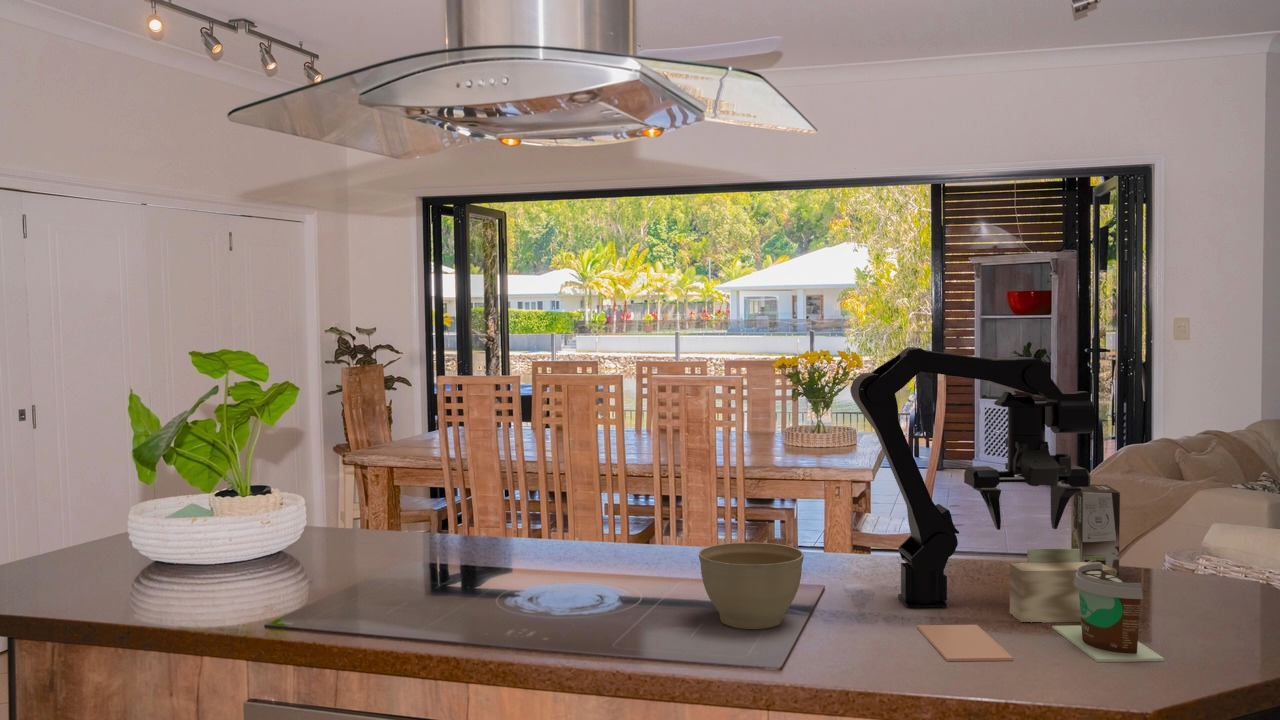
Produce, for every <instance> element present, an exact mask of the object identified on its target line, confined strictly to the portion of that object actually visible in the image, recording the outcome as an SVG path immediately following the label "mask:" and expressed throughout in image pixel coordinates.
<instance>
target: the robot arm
mask: <svg viewBox="0 0 1280 720" xmlns="http://www.w3.org/2000/svg"><path fill="white" fill-rule="evenodd" d="M920 373H931V374H937V375H943V376H944V375H945V376H952V377H958V378H959V377H960V378H966V379H973V380H980V381H985V382H989V383H992V384H994V385H996V386H1000V387H1004V388H1007V389H1009V390H1011V391H1012V390H1013V391H1016V392H1021V393H1027V394H1029V395H1017V396H1016V395H1013V393H1011V391H1004V392H1003V393H1002V395H1001V396H1000V397H999V398H997V399H996V400H995V401H994V405H995V406H998V407H1001V408H1007V437H1005V444H1004V445H1006V446H1007V462H1005V463H1004V464H1005V465H1004V466H1005V470H998V469H996V468H993V467H991V466H988V465H987V466H986V465H983V466H982V465H981V466H979V465H978V466H971V465H970V466H967V467H966V469H965V470H964V473H963V480H964V481H963V483H964V484H967V485H968V486H969V487H972V489H973V490H976V491H978V492H979V493H980V495H981V498H982V499H983V501H984V503H985V505H986V507H987V511H988V512H989V515H990V518H991V520H992V523H993V525H994V527H995V529H996V530H998V531H1000V530H1001V524H1002V519H1001V503H1000V496H1001V493H1002V490H1001V489H999V488H998V485H999V484H1000V483H1026V484H1027V485H1029V486H1030V487H1039V486H1050V523H1051V524H1050V525H1051V528H1052V529H1053V530H1057V529H1058V526H1059V524H1060V521H1061V520H1062V516H1063V514H1064V511H1065V509H1066V507H1067V504H1068V503H1069V502H1070V500H1071V497H1072V496H1073V495H1074V494H1075V493H1076V492H1081V491H1082V488H1079V487H1089V486H1090V485H1091V475H1090V472H1089V471H1088V469H1087V468H1085V467H1081V466H1079V465H1076V464H1072V457H1071V456H1070V455H1069V454H1068V453H1056V454H1054V455H1052V454H1051V453H1050V447H1049V441H1046V427H1047V428H1049V429H1050V430H1051V431H1052V433H1053V434H1090V433H1093V432H1094V430H1095V429H1096V426H1097V425H1096V424H1097V420H1098V419H1097V415H1098V414H1097V412H1096V411H1095V406H1094V403H1093V401H1092V400H1091V392H1090V391H1084V390H1083V391H1080V390H1079V391H1073V392H1062V391H1061V390H1060V388H1059V387H1058V386H1057V384H1056V383H1055V381H1054V380H1053V379H1052V378H1051V371H1050V369H1049V366H1048V365H1047V364H1046V362H1045V361H1044V360H1042V359H1040V358H1037V357H1027V356H1002V357H990V358H989V357H988V358H987V357H985V358H984V357H978V356H970V355H964V354H956V353H949V352H942V351H933V350H926V349H923V348H921V347H916V346H915V347H914V346H908V347H905V348H904V349H902V350H901V352H899V353H898V354H897V355H896V356H894V357H892V358H890V360H888V361H886V362H884V363H883V364H882V365H879V366H878V367H877V368H875V369H874V370H873V371H872V372H864V373H861V374H859V375H857V376H856V377H855V378H854V379H853V381H852V383H851V385H850V391H849V392H850V395H851V398H852V400H853V401H854V403H855V405H856V406H857V408H858V409H859V410H860V412H861V414H863V415H862V416H864V417H865V420H867V422H868V423H869V424H870V426H871V427H872V428H873V430H874V431H875V434H876V436H877V439H878V441H879V443H880V446H881V448H882V451H883V453H884V456H885V458H886V461H887V463H888V464H889V467H890V470H891V471H892V474H893V476H894V478H895V481H896V485H897V486H898V488H899V490H900V493H901V497H902V498H903V500H904V502H905V506H906V509H907V511H906V512H907V522H908V526H909V531H910V535H909V536H908V537H907V538H906V540H904V542H903V543H901V544H900V545H899V546H898V548H897V550H898V552H899V555H900V558H901V560H902V561H904V562H901V563H900V593H898V594H897V598H898V599H899V600H900V601H901V602H902V603H903V604H904V605H905V606H906V608H947V607H948V603H947V602H946V601H947V600H948V575H946V574H945V571H944V570H945V568H946V565H947V564H948V560H949V558H950V557H952V556H953V554H954V553H955V551H956V550H957V547H958V545H959V544H958V543H959V542H958V536H957V534H958V535H959V534H960V531H959V529H957V528H956V526H955V525H954V522H953V521H954V520H953V517H952V514H951V511H950V510H949V509H948V508H946V507H945V506H943V505H942V504H940V503H937V504H935V503H934V501H933V500H932V498H931V495H930V493H929V490H928V488H927V485H926V483H925V480H924V478H923V476H922V473H921V471H920V469H919V467H918V464H917V461H916V460H915V457H914V454H913V452H912V449H911V447H910V446H909V443H908V440H907V438H906V436H905V434H904V431H903V429H902V426H901V424H900V418H899V417H900V416H899V415H900V414H899V405H898V400H897V396H896V394H897V393H898V392H899V391H901V390H902V389H904V388H905V386H906V385H908V383H910V382H911V381H912V380H913V378H914V377H916V376H917V375H918V374H920ZM1032 396H1033V397H1036V398H1041V399H1046V401H1035V399H1034V398H1033V397H1032Z"/></svg>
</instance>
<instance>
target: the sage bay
mask: <svg viewBox="0 0 1280 720" xmlns="http://www.w3.org/2000/svg"><path fill="white" fill-rule="evenodd" d="M1052 630H1054V631H1055V632H1056V633H1058V634H1060V635H1061V636H1062V637H1063V638H1065V639H1066V640H1067V641H1069V642H1070V643H1071V644H1073V645H1074V646H1075V647H1076V648H1077V649H1080V651H1082V652H1083V653H1084V654H1086V655H1088V657H1090V658H1092V659H1093V660H1094V661H1095V662H1097V663H1116V662H1117V663H1119V662H1122V663H1123V662H1124V663H1125V662H1128V663H1129V662H1132V663H1133V662H1136V663H1137V662H1165V658H1164V657H1163V656H1161V655H1160V654H1158V653H1157V652H1155V651H1153V650H1152V649H1150V648H1149V647H1147V646H1146V645H1144V644H1143V643H1141V642H1140V641H1138V646H1137V654H1130V653H1117V652H1111V651H1105V650H1101V649H1097V648H1094V647H1092V646H1089V645H1087V644H1086V643H1085V642H1084V641H1083V639H1082V627H1081V624H1079V625H1074V624H1073V625H1052Z"/></svg>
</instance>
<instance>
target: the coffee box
mask: <svg viewBox="0 0 1280 720" xmlns="http://www.w3.org/2000/svg"><path fill="white" fill-rule="evenodd" d="M1079 488H1082V491H1081V492H1076V493H1075V494H1074V495H1073V496H1072V497H1071V498H1070V502H1071V503H1070V507H1071V508H1070V511H1071V513H1070V516H1071V517H1070V519H1071V521H1070V525H1071V527H1070V528H1071V529H1070V530H1071V532H1070V533H1071V535H1070V537H1071V539H1070V540H1071V544H1070V546H1071V548H1070V549H1080V562H1100V563H1102V564H1104V565H1106V566H1107V567H1109V568H1111V569H1113V570H1114V575H1117V576H1120V526H1121V525H1120V523H1121V522H1120V520H1121V519H1120V518H1121V517H1120V515H1121V492H1120V491H1118V490H1116V489H1114V488H1113V487H1111V486H1109V485H1108V484H1090V486H1089V487H1079Z"/></svg>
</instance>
